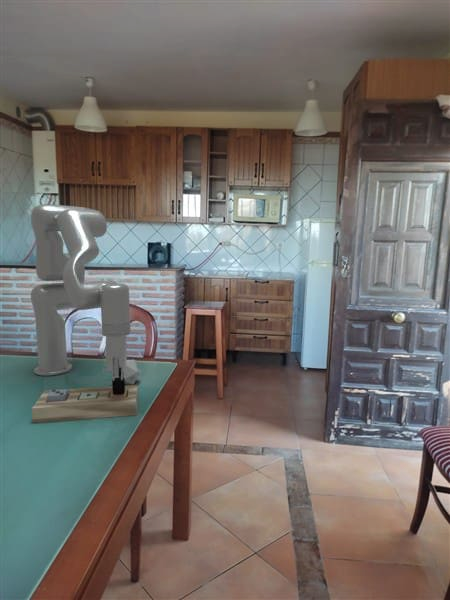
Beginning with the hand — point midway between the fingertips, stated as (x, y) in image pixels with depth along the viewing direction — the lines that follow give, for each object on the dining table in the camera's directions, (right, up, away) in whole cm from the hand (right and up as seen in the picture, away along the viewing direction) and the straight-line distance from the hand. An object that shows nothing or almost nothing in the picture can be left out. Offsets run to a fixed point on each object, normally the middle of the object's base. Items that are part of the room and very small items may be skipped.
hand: (118, 392), depth 107 cm
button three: (-16, -2, -3) cm, 16 cm away
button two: (0, -3, +1) cm, 3 cm away
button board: (-8, -5, -1) cm, 9 cm away
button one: (-8, -3, -1) cm, 9 cm away
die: (-3, -2, +19) cm, 20 cm away
